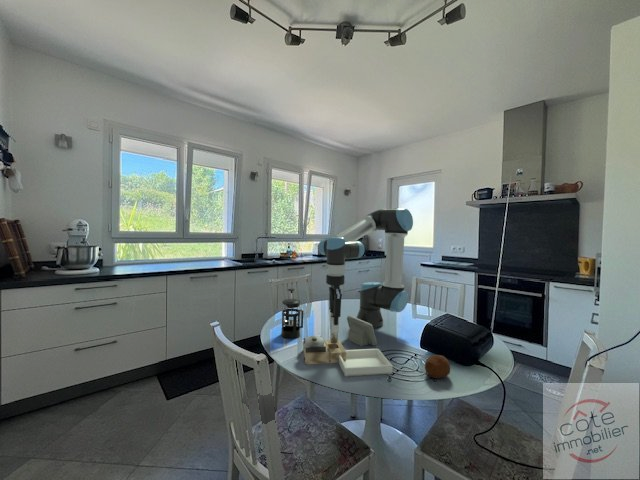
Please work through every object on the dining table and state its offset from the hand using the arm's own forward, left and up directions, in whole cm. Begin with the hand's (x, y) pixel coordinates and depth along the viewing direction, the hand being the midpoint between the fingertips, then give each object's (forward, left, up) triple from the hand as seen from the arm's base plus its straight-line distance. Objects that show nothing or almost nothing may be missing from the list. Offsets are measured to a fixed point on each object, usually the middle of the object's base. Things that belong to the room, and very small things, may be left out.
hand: (334, 330), depth 110 cm
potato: (-35, +19, -11) cm, 41 cm away
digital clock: (-16, -13, -11) cm, 23 cm away
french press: (+16, -23, -11) cm, 30 cm away
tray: (-10, +9, -11) cm, 17 cm away
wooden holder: (+4, 0, -11) cm, 12 cm away
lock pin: (0, 0, -5) cm, 5 cm away
